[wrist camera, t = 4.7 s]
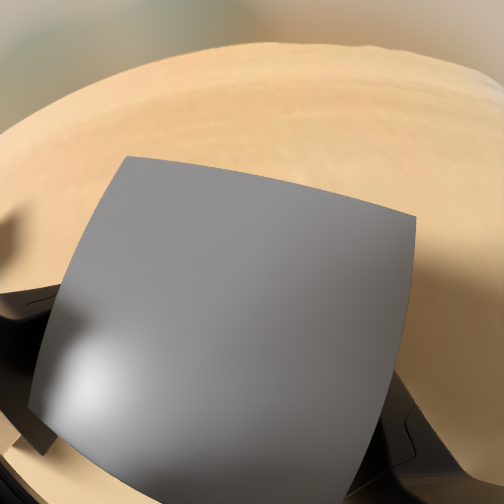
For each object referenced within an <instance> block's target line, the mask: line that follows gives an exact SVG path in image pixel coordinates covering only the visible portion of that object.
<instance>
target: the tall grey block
mask: <svg viewBox="0 0 504 504" xmlns="http://www.w3.org/2000/svg"><path fill="white" fill-rule="evenodd" d="M415 234H416V217H415V216H412V215H409V214H406V213H403V212H399V211H396V210H393V209H390V208H386V207H383V206H380V205H376V204H373V203H369V202H366V201H362V200H359V199H355V198H351V197H348V196H344V195H340V194H336V193H332V192H328V191H325V190H320V189H316V188H312V187H308V186H304V185H300V184H295V183H291V182H286V181H282V180H277V179H272V178H267V177H263V176H258V175H252V174H247V173H242V172H237V171H231V170H225V169H220V168H214V167H208V166H201V165H195V164H188V163H181V162H174V161H167V160H159V159H151V158H142V157H133V156H126V158H125V159H124V161H123V162H122V164H121V166H120V167H119V169H118V171H117V172H116V174H115V175H114V177H113V179H112V181H111V182H110V184H109V186H108V187H107V189H106V191H105V193H104V194H103V196H102V198H101V200H100V202H99V203H98V205H97V207H96V209H95V211H94V213H93V215H92V217H91V219H90V221H89V223H88V225H87V227H86V229H85V231H84V233H83V235H82V237H81V239H80V241H79V243H78V245H77V248H76V250H75V252H74V254H73V257H72V259H71V261H70V264H69V266H68V268H67V271H66V273H65V276H64V278H63V281H62V283H61V286H60V289H59V291H58V294H57V297H56V299H55V302H54V305H53V308H52V311H51V314H50V317H49V320H48V323H47V327H46V330H45V333H44V337H43V340H42V344H41V348H40V351H39V355H38V359H37V363H36V368H35V372H34V377H33V382H32V387H31V392H30V398H29V404H28V408H29V409H30V410H31V411H32V412H33V413H34V414H35V415H36V416H37V417H38V418H39V419H40V420H41V421H42V422H43V423H45V424H46V425H47V426H48V427H49V428H50V429H51V430H52V431H53V432H55V433H56V434H57V435H58V436H59V437H60V438H61V439H63V440H64V441H65V442H66V443H68V444H69V445H70V446H71V447H73V448H74V449H75V450H76V451H78V452H79V453H80V454H82V455H83V456H84V457H86V458H87V459H88V460H90V461H91V462H92V463H94V464H95V465H97V466H98V467H100V468H101V469H103V470H104V471H106V472H107V473H109V474H110V475H112V476H113V477H115V478H117V479H118V480H120V481H121V482H123V483H125V484H126V485H128V486H130V487H132V488H133V489H135V490H137V491H139V492H141V493H142V494H144V495H146V496H148V497H150V498H152V499H154V500H156V501H158V502H160V503H162V504H341V503H342V501H343V499H344V497H345V495H346V493H347V491H348V489H349V487H350V485H351V483H352V481H353V479H354V477H355V475H356V473H357V471H358V469H359V466H360V464H361V462H362V460H363V457H364V455H365V453H366V450H367V448H368V445H369V443H370V440H371V438H372V435H373V433H374V430H375V427H376V425H377V422H378V419H379V416H380V413H381V410H382V407H383V404H384V401H385V398H386V395H387V392H388V388H389V385H390V381H391V378H392V374H393V370H394V367H395V363H396V359H397V355H398V350H399V346H400V342H401V337H402V332H403V327H404V322H405V317H406V311H407V305H408V299H409V292H410V285H411V277H412V269H413V259H414V248H415Z"/></svg>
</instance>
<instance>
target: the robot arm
mask: <svg viewBox="0 0 504 504" xmlns="http://www.w3.org/2000/svg"><path fill="white" fill-rule="evenodd" d="M60 286H61V284H58V285H53V286H48V287H43V288H37V289H30V290H24V291H16V292H9V293H2V294H0V504H48V503H47V502H46V501H45V500H44V499H43V498H42V497H41V496H40V495H39V494H37V493H36V492H35V491H34V490H33V489H32V488H31V487H30V486H29V485H28V484H27V483H26V482H25V481H24V480H23V479H22V477H21V476H20V475H19V474H18V473H17V472H16V471H15V470H14V469H13V468H12V467H11V465H10V464H9V463H8V462H7V461H6V460H5V458H4V457H3V454H4V453H5V452H6V451H7V450H8V449H9V448H10V447H11V446H12V445H13V444H14V442H15V441H16V440H17V439H18V438H19V437H20V436H21V435H22V436H23V437H24V438H25V439H26V440H27V441H28V442H29V443H30V444H31V445H32V446H33V447H34V448H35V449H36V450H37V451H38V452H39V453H40V454H41V455H42V456H44V455H45V454H46V452H47V451H48V450H49V448H50V447H51V445H52V444H53V443H54V441H55V440H56V438H57V437H58V435H57V434H56V433H55V432H53V431H52V430H51V429H50V428H49V427H48V426H47V425H46V424H45V423H43V422H42V421H41V420H40V419H39V418H38V417H37V416H36V415H35V414H34V413H33V412H32V411H31V410H30V409H29V408H28V404H29V398H30V392H31V387H32V382H33V377H34V372H35V368H36V363H37V359H38V355H39V351H40V348H41V344H42V340H43V337H44V333H45V330H46V327H47V323H48V320H49V317H50V314H51V311H52V308H53V305H54V302H55V299H56V297H57V294H58V291H59V289H60ZM341 504H504V487H503V486H499V485H495V484H491V483H487V482H484V481H480V480H477V479H475V478H473V477H471V476H470V475H468V474H467V473H466V472H465V471H464V470H463V469H462V468H461V466H460V465H459V464H458V462H457V461H456V460H455V458H454V457H453V455H452V454H451V453H450V451H449V450H448V449H447V447H446V446H445V445H444V443H443V442H442V441H441V439H440V438H439V437H438V435H437V434H436V432H435V431H434V430H433V428H432V427H431V425H430V424H429V422H428V421H427V419H426V418H425V416H424V415H423V413H422V412H421V410H420V409H419V407H418V405H417V404H415V401H414V399H413V398H412V396H411V394H410V393H409V391H408V390H407V388H406V387H405V385H404V384H403V382H402V381H401V379H400V378H399V376H398V375H397V373H396V371H395V370H393V374H392V378H391V381H390V385H389V388H388V392H387V395H386V398H385V401H384V404H383V407H382V410H381V413H380V416H379V419H378V422H377V425H376V427H375V430H374V433H373V435H372V438H371V440H370V443H369V445H368V448H367V450H366V453H365V455H364V457H363V460H362V462H361V464H360V466H359V469H358V471H357V473H356V475H355V477H354V479H353V481H352V483H351V485H350V487H349V489H348V491H347V493H346V495H345V497H344V499H343V501H342V503H341Z"/></svg>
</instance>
